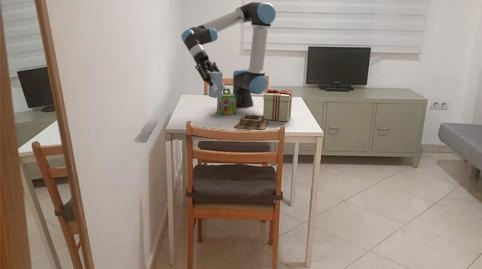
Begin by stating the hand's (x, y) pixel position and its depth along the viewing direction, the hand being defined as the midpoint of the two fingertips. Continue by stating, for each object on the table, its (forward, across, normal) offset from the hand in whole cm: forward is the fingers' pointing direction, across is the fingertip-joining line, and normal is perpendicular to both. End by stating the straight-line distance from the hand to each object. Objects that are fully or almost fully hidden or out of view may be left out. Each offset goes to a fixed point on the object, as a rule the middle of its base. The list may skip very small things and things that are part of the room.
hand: (220, 89), depth 233 cm
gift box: (+20, -39, -9) cm, 45 cm away
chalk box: (+2, -23, -27) cm, 35 cm away
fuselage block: (0, 0, -6) cm, 6 cm away
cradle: (+22, -15, -7) cm, 27 cm away
